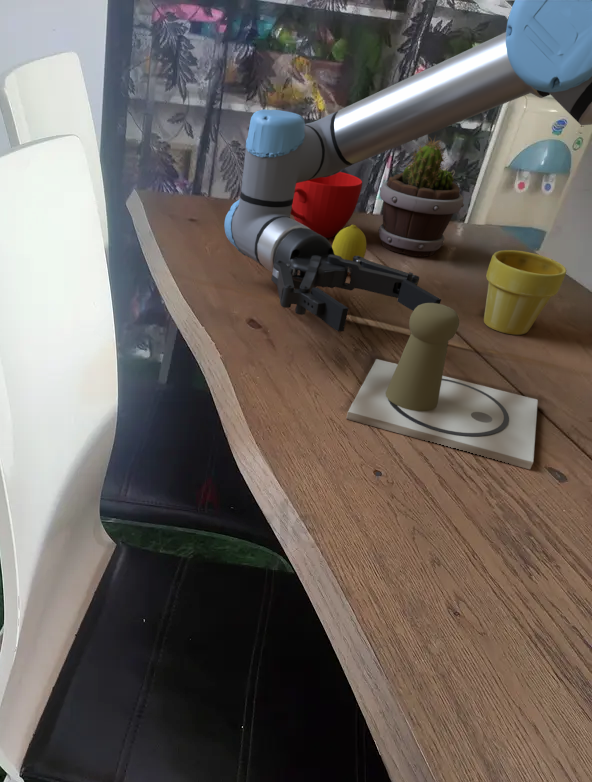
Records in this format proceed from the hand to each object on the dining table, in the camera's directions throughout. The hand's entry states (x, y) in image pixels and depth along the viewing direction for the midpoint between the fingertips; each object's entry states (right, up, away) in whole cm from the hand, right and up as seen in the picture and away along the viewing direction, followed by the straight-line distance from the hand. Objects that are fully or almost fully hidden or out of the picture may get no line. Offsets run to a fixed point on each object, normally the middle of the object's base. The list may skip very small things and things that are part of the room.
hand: (391, 315), depth 86 cm
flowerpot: (+16, +27, +53) cm, 61 cm away
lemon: (+1, +17, +37) cm, 41 cm away
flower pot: (+23, +5, +25) cm, 35 cm away
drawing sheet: (+6, -11, 0) cm, 13 cm away
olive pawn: (+2, -10, 0) cm, 10 cm away
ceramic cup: (-2, +30, +54) cm, 62 cm away
